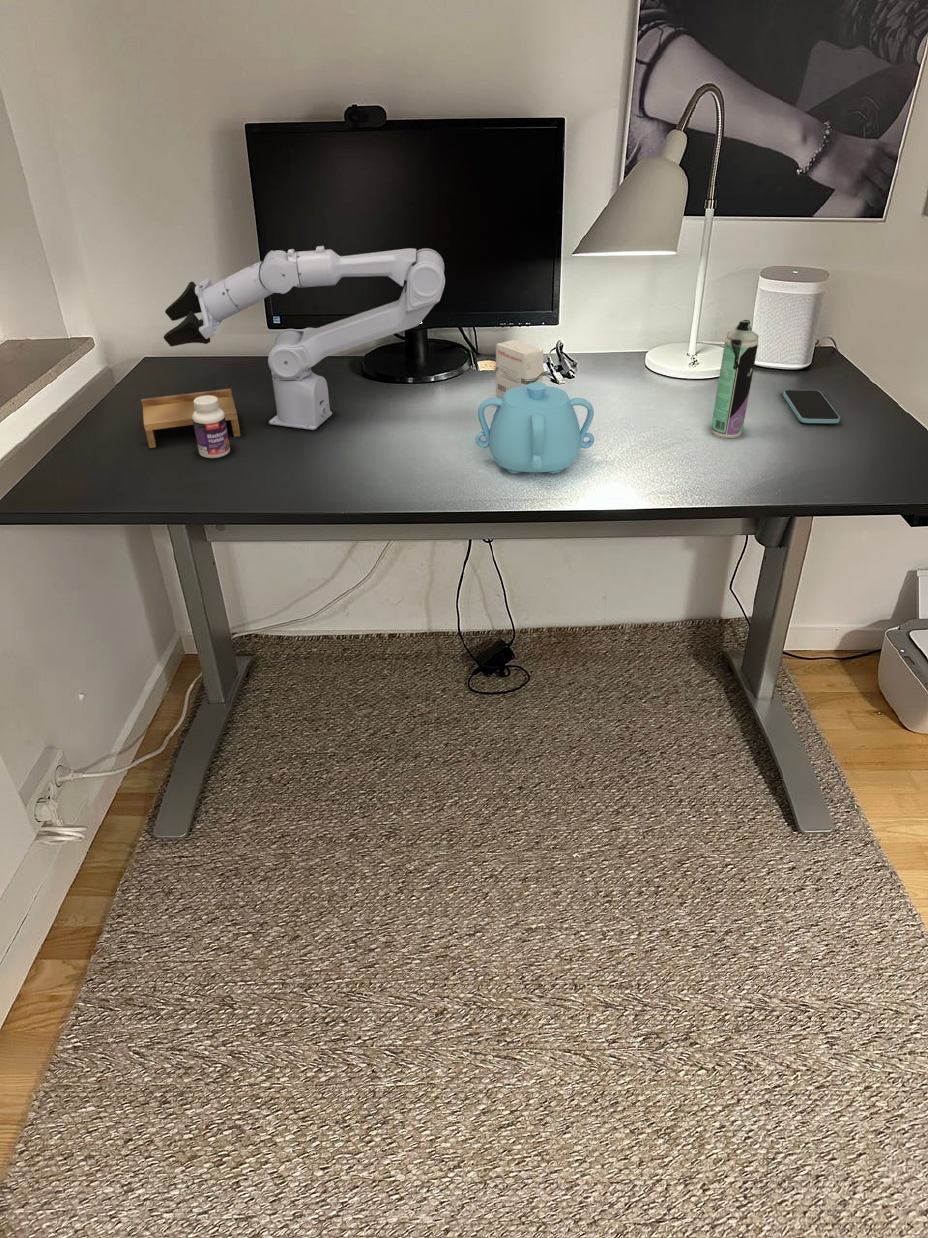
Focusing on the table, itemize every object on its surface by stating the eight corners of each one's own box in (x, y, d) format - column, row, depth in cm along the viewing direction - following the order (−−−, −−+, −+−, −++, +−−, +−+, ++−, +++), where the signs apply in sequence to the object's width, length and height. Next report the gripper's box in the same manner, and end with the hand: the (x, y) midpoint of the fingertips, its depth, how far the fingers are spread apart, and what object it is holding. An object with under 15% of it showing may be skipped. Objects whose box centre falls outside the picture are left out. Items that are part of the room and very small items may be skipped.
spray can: (742, 439, 161) (763, 326, 149) (710, 437, 162) (728, 325, 150) (741, 426, 165) (761, 316, 154) (710, 424, 166) (727, 314, 154)
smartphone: (819, 390, 177) (841, 419, 164) (818, 395, 177) (840, 425, 165) (782, 389, 177) (801, 418, 165) (781, 394, 178) (800, 424, 165)
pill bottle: (213, 461, 156) (203, 408, 150) (192, 453, 158) (182, 400, 153) (237, 450, 159) (228, 398, 154) (217, 443, 162) (207, 390, 156)
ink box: (543, 410, 172) (546, 348, 166) (524, 416, 170) (525, 355, 163) (513, 396, 178) (514, 337, 171) (493, 403, 175) (494, 342, 168)
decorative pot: (539, 433, 164) (542, 360, 156) (601, 464, 153) (607, 387, 145) (467, 458, 156) (466, 381, 148) (527, 492, 145) (530, 412, 138)
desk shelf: (235, 417, 171) (230, 388, 168) (240, 436, 164) (235, 406, 161) (147, 428, 167) (141, 398, 164) (149, 448, 160) (142, 417, 157)
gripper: (219, 252, 158) (154, 286, 161) (219, 300, 149) (151, 335, 152) (243, 284, 163) (179, 317, 166) (244, 332, 155) (177, 366, 158)
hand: (167, 328), depth 160 cm, fingers open, 7 cm apart
